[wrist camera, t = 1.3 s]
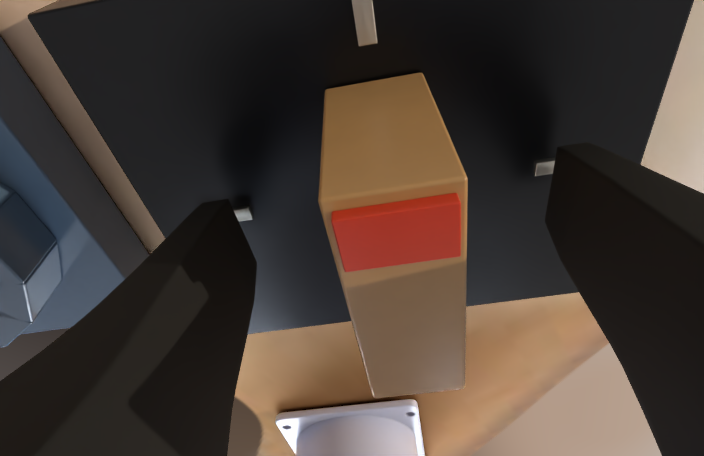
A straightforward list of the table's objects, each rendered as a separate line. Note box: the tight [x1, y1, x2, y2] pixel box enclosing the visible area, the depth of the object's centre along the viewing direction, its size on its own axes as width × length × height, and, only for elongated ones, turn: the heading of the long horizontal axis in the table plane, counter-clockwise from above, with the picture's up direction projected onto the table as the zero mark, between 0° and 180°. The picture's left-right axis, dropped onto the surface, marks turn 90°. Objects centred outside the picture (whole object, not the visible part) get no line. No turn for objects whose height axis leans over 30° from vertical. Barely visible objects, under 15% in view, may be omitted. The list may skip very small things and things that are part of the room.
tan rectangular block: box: [318, 73, 468, 398], centre depth 9 cm, size 6×2×4 cm, turn 10°
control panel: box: [28, 0, 694, 334], centre depth 11 cm, size 10×12×3 cm
